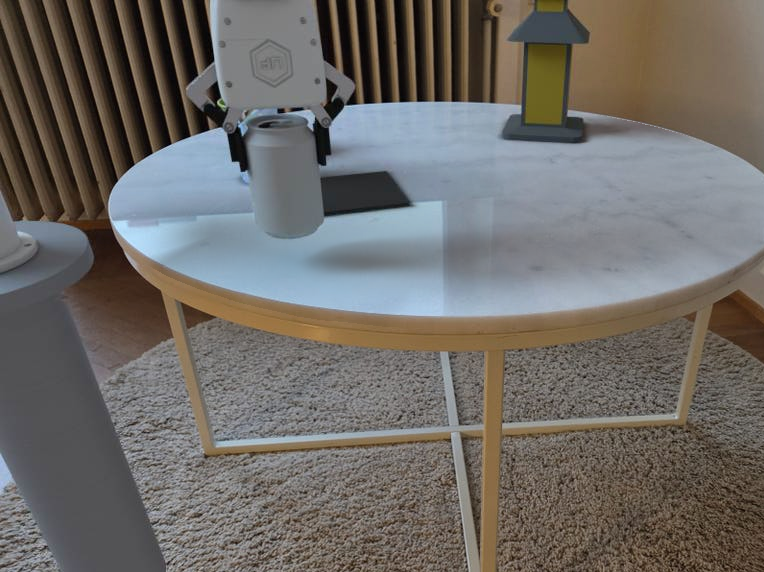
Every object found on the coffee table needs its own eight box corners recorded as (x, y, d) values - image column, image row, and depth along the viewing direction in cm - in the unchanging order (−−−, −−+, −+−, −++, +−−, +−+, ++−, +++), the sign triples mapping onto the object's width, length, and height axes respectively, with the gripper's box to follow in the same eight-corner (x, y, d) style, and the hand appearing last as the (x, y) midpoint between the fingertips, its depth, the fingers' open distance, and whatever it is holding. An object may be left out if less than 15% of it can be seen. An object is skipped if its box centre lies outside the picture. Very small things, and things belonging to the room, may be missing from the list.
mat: (306, 217, 89) (305, 214, 89) (293, 183, 100) (293, 180, 100) (409, 205, 93) (409, 202, 93) (386, 173, 104) (386, 170, 104)
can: (282, 211, 80) (268, 106, 74) (337, 222, 78) (328, 115, 71) (242, 234, 74) (223, 123, 68) (300, 247, 72) (286, 133, 66)
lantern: (581, 143, 118) (599, -59, 102) (501, 139, 120) (506, -60, 103) (583, 122, 130) (599, -62, 113) (510, 118, 132) (516, -63, 115)
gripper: (154, -21, 57) (196, 183, 67) (359, -20, 62) (370, 170, 72) (157, -29, 63) (196, 160, 73) (345, -27, 68) (357, 149, 78)
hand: (282, 164), depth 72 cm, fingers closed on can, 7 cm apart
